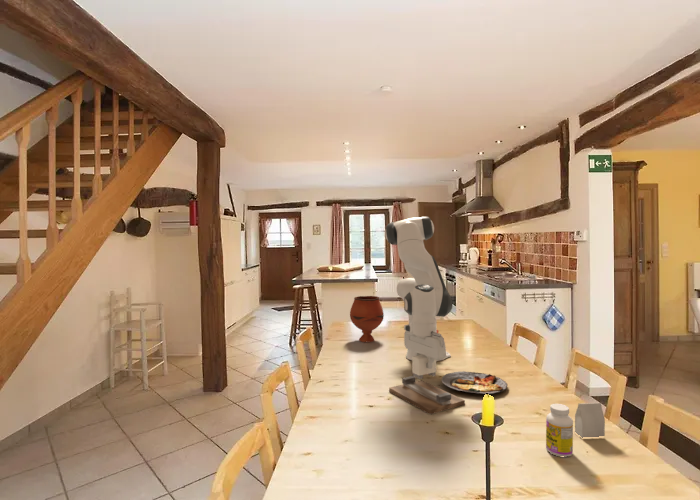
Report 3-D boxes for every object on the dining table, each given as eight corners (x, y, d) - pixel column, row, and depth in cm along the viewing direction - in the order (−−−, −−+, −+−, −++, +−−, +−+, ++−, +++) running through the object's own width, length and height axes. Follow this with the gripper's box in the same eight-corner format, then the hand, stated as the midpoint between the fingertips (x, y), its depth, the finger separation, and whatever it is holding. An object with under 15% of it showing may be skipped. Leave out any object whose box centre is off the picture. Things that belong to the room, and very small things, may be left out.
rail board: (421, 383, 169) (421, 372, 169) (464, 404, 148) (464, 392, 148) (389, 391, 161) (389, 379, 161) (429, 414, 140) (429, 401, 140)
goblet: (389, 338, 241) (389, 296, 240) (373, 346, 225) (372, 300, 224) (361, 334, 252) (360, 293, 251) (343, 342, 236) (343, 298, 235)
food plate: (506, 380, 173) (506, 371, 172) (508, 401, 151) (508, 392, 150) (445, 374, 181) (445, 366, 181) (438, 394, 159) (438, 385, 159)
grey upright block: (604, 439, 123) (604, 405, 122) (582, 439, 122) (582, 406, 122) (596, 433, 126) (596, 400, 126) (574, 433, 126) (575, 401, 126)
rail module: (429, 372, 158) (429, 353, 158) (436, 375, 155) (436, 356, 154) (412, 375, 154) (412, 356, 154) (419, 379, 151) (419, 359, 150)
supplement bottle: (541, 446, 119) (541, 402, 118) (563, 445, 119) (563, 401, 119) (554, 459, 112) (555, 412, 111) (578, 457, 112) (578, 411, 112)
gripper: (450, 333, 146) (450, 372, 147) (414, 323, 164) (414, 357, 165) (436, 336, 143) (436, 375, 144) (401, 325, 161) (401, 360, 162)
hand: (424, 366), depth 154 cm, fingers closed on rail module, 4 cm apart
